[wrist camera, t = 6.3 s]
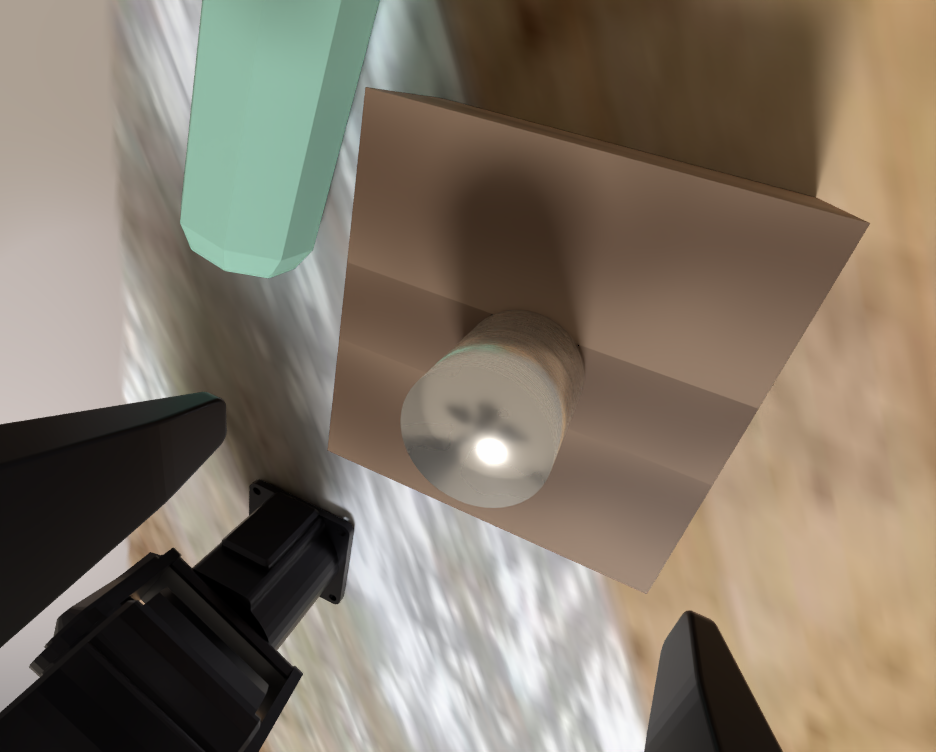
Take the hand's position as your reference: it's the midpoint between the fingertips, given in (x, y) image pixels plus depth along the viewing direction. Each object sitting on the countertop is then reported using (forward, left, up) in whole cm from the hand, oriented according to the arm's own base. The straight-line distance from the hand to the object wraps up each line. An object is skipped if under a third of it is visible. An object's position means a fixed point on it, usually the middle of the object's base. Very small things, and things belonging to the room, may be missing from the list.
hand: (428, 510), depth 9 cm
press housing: (0, 0, -12) cm, 12 cm away
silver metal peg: (0, 0, -11) cm, 11 cm away
